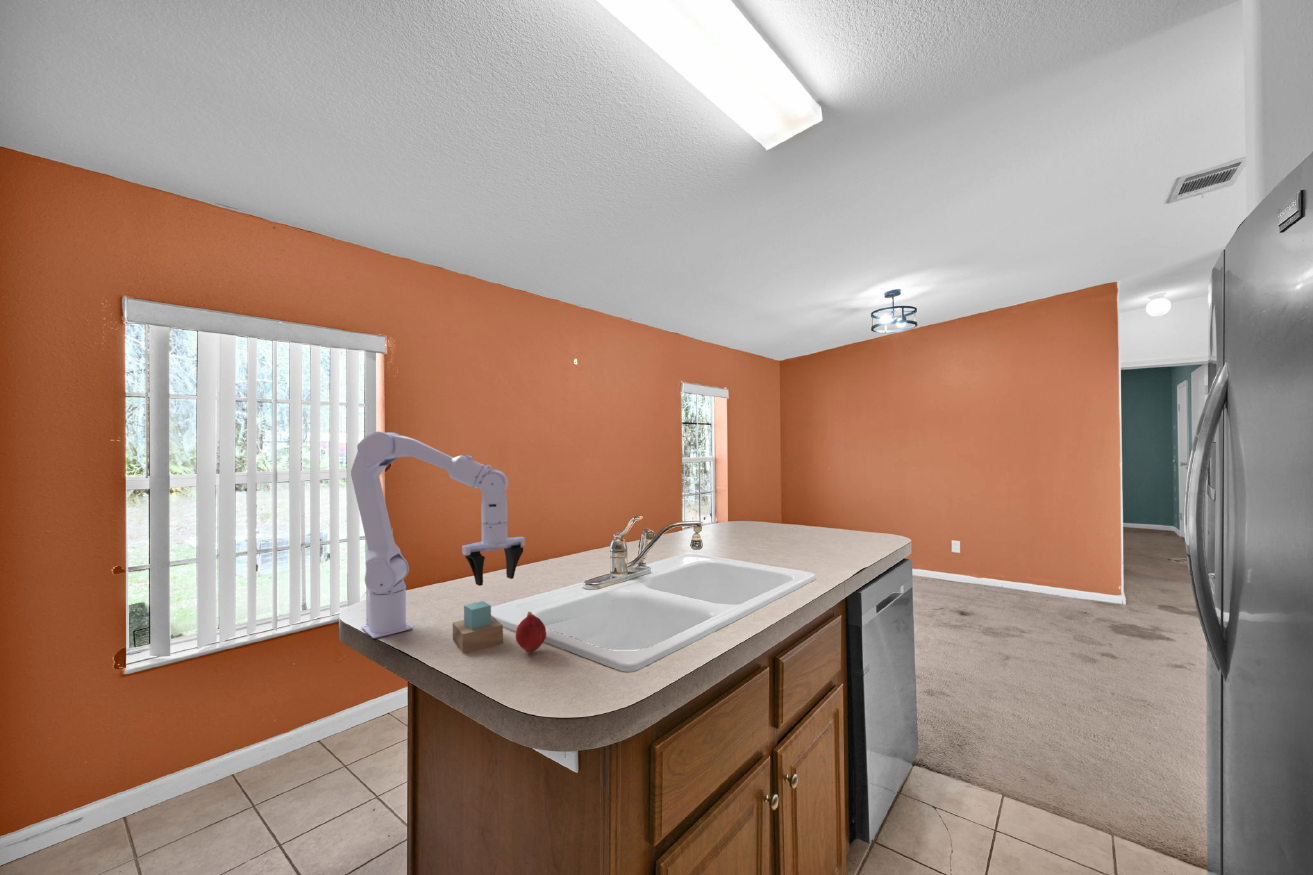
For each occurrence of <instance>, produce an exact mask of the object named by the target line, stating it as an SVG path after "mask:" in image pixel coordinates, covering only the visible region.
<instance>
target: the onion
mask: <svg viewBox="0 0 1313 875" xmlns="http://www.w3.org/2000/svg"><path fill="white" fill-rule="evenodd" d="M515 631H516V632H515V641H516V643H517V644H518V646H519V647H520V648H522V650H524V651H525V652H527V653H528V654H532V653H534V652H535V651H536V650H537V649H539V648H540V647H541V646H542V645H543V644H544V642H545V640H546V638H547V629H546V626H545V624H544V622H543V621H542V620H541V619H540V617H537V616H536V615H535V614H533V613H532V611H527V614H526V617H524V618H523V619H522V620H521V621H520V622H519V624H518V625H517V627H516V630H515Z"/></svg>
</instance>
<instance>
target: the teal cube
mask: <svg viewBox="0 0 1313 875" xmlns="http://www.w3.org/2000/svg"><path fill="white" fill-rule="evenodd" d="M491 615H492V605H491V604H489V603H487V602H485V601H483V600H482V601H481V600H480V601H477V602H473V603H469V604H465V605H463V620H464V625H465V626H467V627H469V628H470V629H472V630H473V629H477V628H481V627H484V626H488V625H491Z"/></svg>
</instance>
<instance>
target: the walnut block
mask: <svg viewBox="0 0 1313 875" xmlns="http://www.w3.org/2000/svg"><path fill="white" fill-rule="evenodd" d="M452 641H453V642H454V644H455V645H456V646H457V648H458V649H459V650H460V651H461V652H462V653H468V652H472V651H476V650H481V649H483V648H488V647H491V646H496V645H500V644H503V643H504V626H503V624H502V623H501V622H500V621H498V620H497V618H495V616H493V615H492V614H491V625H488V626H484V627H481V628H477V629H473V630H472V629H470V628H469V627H467V626H465V625H464V619H463V620H458V621H454V622H453V621H452Z"/></svg>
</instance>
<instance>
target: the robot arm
mask: <svg viewBox="0 0 1313 875" xmlns="http://www.w3.org/2000/svg"><path fill="white" fill-rule="evenodd" d="M356 449H357V451H356V455H355V458H354V460H353V463H352V466H351V469H350V478H351V482H352V485H353V489H354V494H355V497H356V498H355V499H356V502H357V503H356V504H357V508H358V511H359V515H360V519H361V524H362V527H363V532H364V536H365V540H366V544H367V549H368V551H367V552H368V553H367V556H366V559H365V566H366V572H365V575H364V583H365V586H366V587H367V589H368V594H367V596H366V601H365V606H366V610H365V615H366V617H365V618H366V620H365V623H366V624H363V625H361V629H362V630H364V631H365V632H366V633H367V635H369V636H370V637H371V638H372V639H378V638H382V637H385V636H389V635H394V634H396V633H401V632H402V633H403V632H404V631H409V630H412V629H413V626H412V624H410V623H409V622H407V617H406V616H407V594H406V593H407V592H406V591H407V584H406V582H405V581H404V580H405V579H406V578H407V576H408V574H409V572H410V566H409V565H410V564H409V563H408V561H407V560H406V558H405V557H404V556H403V554H402V551H401V548H400V547H399V546H398V545H397V543H396V542H395V538H394V534H393V529H392V525H391V521H390V518H389V512H388V508H387V503H386V499H385V496H384V491H383V485H382V481H381V478H380V477H381V475H382V473H383V472H384V471H385V470H386V468H387V467H388V466H389V465H390V464H391V463H393V462H394V461H396V460H398V459H399V458H403V457H404V458H407V457H408V458H409V457H412V458H415V459H418V460H421V461H423V462H425V463H428V464H430V465H433V466H435V467H438V468H441V469H442V470H446V472H447V474H448V476H449V478H450V479H452V480H454V481H457V482H459V483H462V484H464V485H465V486H469V487H471V488H473V489H475V490H477V489H479V491H480V492H481V504H480V505H481V508H480V509H481V541H478V542H474V543H473V542H472V543H470V544H465V545H462V546H461V550H462V551H461V554H462V555H463V556H464V558H465V559H466V561H467V563H468V564H469V566H470V569H471V571H472V574H473V578H474V582H475V585H477V586H478V587H479V586H480V587H481V586H483V584H484V564H485V559H486V556H484V555H482V553H483V552H484V553H485V552H490V551H495V550H496V551H497V550H502V549H503V551H504V556H505V563H506V566H505V567H506V571H505V572H506V573H505V574H506V578H507V579H510V580H512V579H514V578H515V572H516V570H517V569H516V568H517V566H518V562H519V560H520V558H521V556H522V555H523V553H524V547H525V546H526V538H525V537H524V536H515V537H508V501H507V498H508V495H507V491H506V490H507V489H508V486H509V478H508V477H507V475H506V474H505V472H503V471H501V469H497V468H496V469H492V468H493V466H492V465H490V464H487V465H485V464H482V463H481V462H478V461H476V460H474V459H473V456H471V455H468V454H467V455H466V456H465V455H463V454H462V455H458V456H454V457H453V456H451V455H449V454H447V453H444V452H443V451H441V450H438V449H436V448H434V447H432V446H430V445H428V444H426V443H425V442H422V441H420V440H418V439H415V438H412V437H410V436H406V435H400V434H399V433H397V432H389V431H388V432H383V431H372V432H370V433H368V434H367V435H365V436H364V437H363V438H362V440H360V442H359V443H357V446H356Z"/></svg>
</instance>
